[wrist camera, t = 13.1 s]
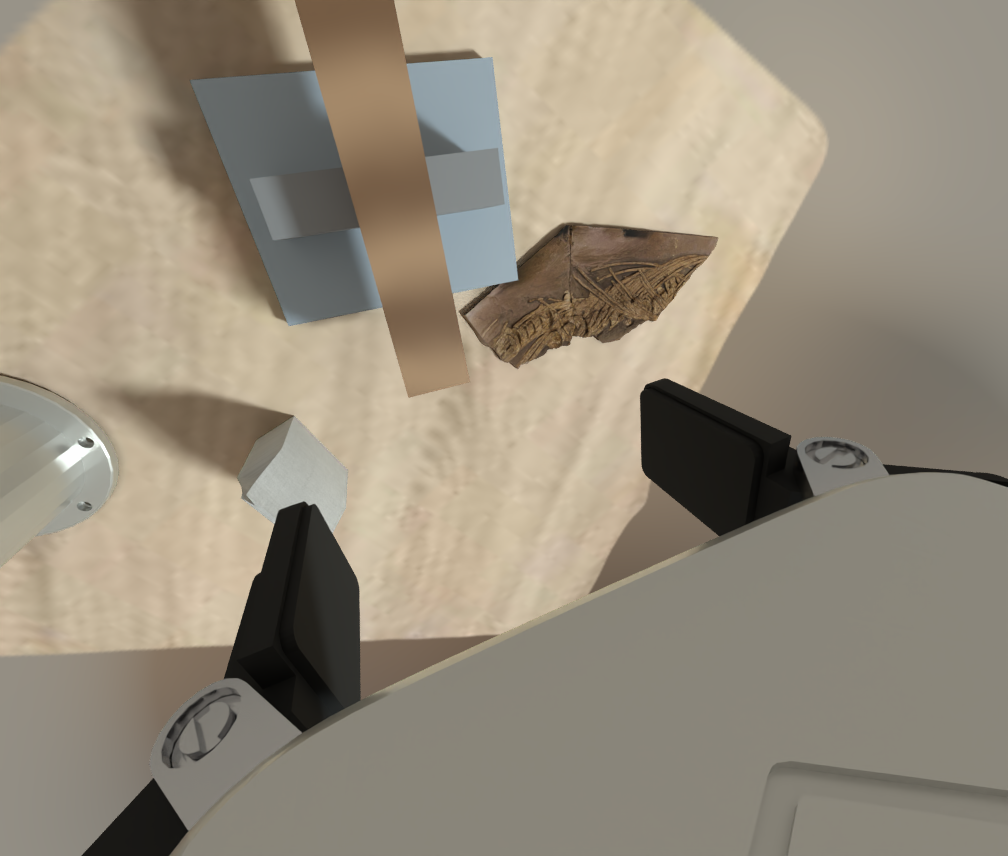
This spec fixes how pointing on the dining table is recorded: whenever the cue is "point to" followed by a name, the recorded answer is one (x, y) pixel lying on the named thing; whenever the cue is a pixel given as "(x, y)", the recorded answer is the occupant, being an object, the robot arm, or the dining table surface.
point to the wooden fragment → (586, 289)
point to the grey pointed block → (293, 474)
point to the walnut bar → (388, 181)
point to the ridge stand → (324, 190)
